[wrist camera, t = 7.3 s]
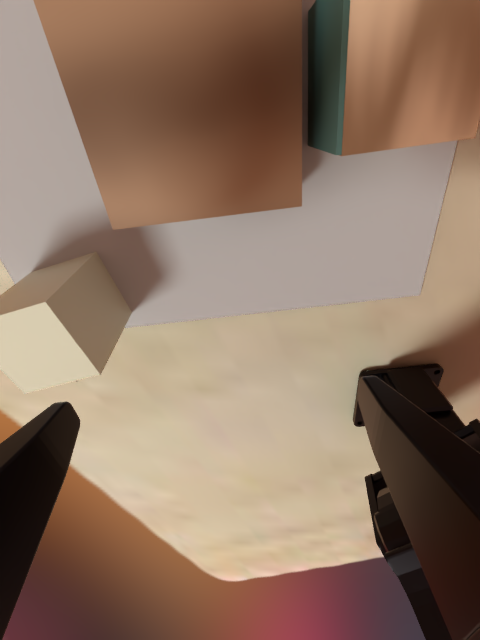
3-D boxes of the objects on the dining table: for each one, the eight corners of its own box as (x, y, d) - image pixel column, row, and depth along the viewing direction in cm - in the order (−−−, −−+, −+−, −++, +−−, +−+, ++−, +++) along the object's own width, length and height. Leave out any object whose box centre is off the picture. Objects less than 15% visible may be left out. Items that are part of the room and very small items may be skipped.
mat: (416, 292, 21) (419, 295, 20) (48, 333, 22) (45, 336, 21) (577, -387, 9) (591, -408, 8) (-271, -222, 10) (-289, -235, 9)
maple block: (307, 146, 15) (407, 133, 15) (336, 156, 11) (474, 137, 11) (307, 10, 13) (430, -10, 12) (346, -44, 8) (531, -75, 8)
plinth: (289, 191, 17) (301, 206, 14) (132, 211, 17) (113, 229, 14) (284, -50, 12) (301, -103, 9) (63, -15, 12) (14, -55, 10)
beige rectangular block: (132, 312, 21) (100, 374, 16) (73, 328, 21) (24, 393, 16) (96, 251, 18) (45, 301, 13) (31, 272, 19) (-42, 327, 14)
